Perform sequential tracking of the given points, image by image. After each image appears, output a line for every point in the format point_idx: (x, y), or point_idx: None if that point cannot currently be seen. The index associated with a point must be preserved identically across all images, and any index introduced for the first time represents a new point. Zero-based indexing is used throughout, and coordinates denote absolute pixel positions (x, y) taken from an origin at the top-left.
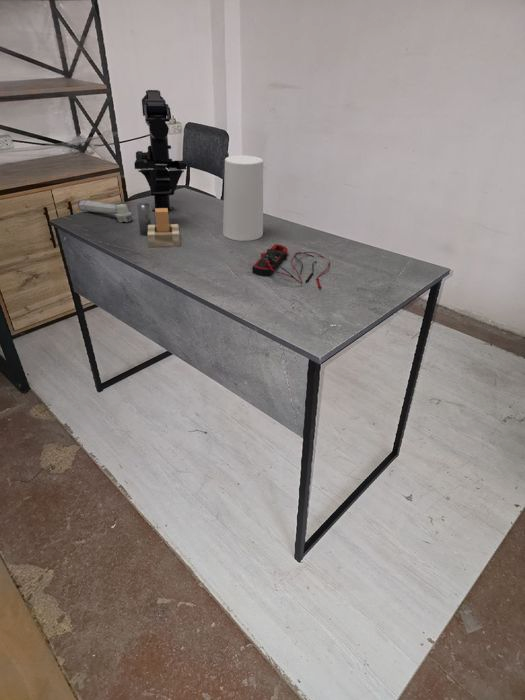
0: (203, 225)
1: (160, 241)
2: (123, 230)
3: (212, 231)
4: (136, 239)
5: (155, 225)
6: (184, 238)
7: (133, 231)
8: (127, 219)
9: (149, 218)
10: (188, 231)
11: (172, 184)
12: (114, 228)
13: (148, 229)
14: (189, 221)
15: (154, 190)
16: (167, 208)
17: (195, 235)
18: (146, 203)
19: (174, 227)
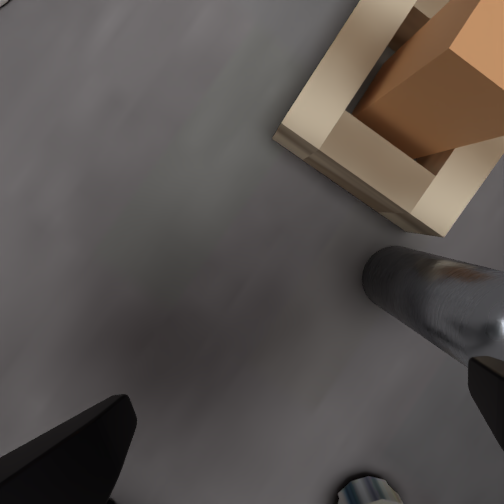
0: (45, 191)
1: None
2: (452, 388)
3: (62, 63)
4: (481, 232)
5: (415, 195)
6: (274, 75)
7: (423, 345)
8: (378, 488)
9: (431, 264)
10: (185, 160)
11: (85, 491)
12: (468, 439)
13: (496, 156)
14: (77, 303)
15: (494, 363)
16: (461, 34)
17: (192, 74)
18: (476, 348)
19: (344, 76)
